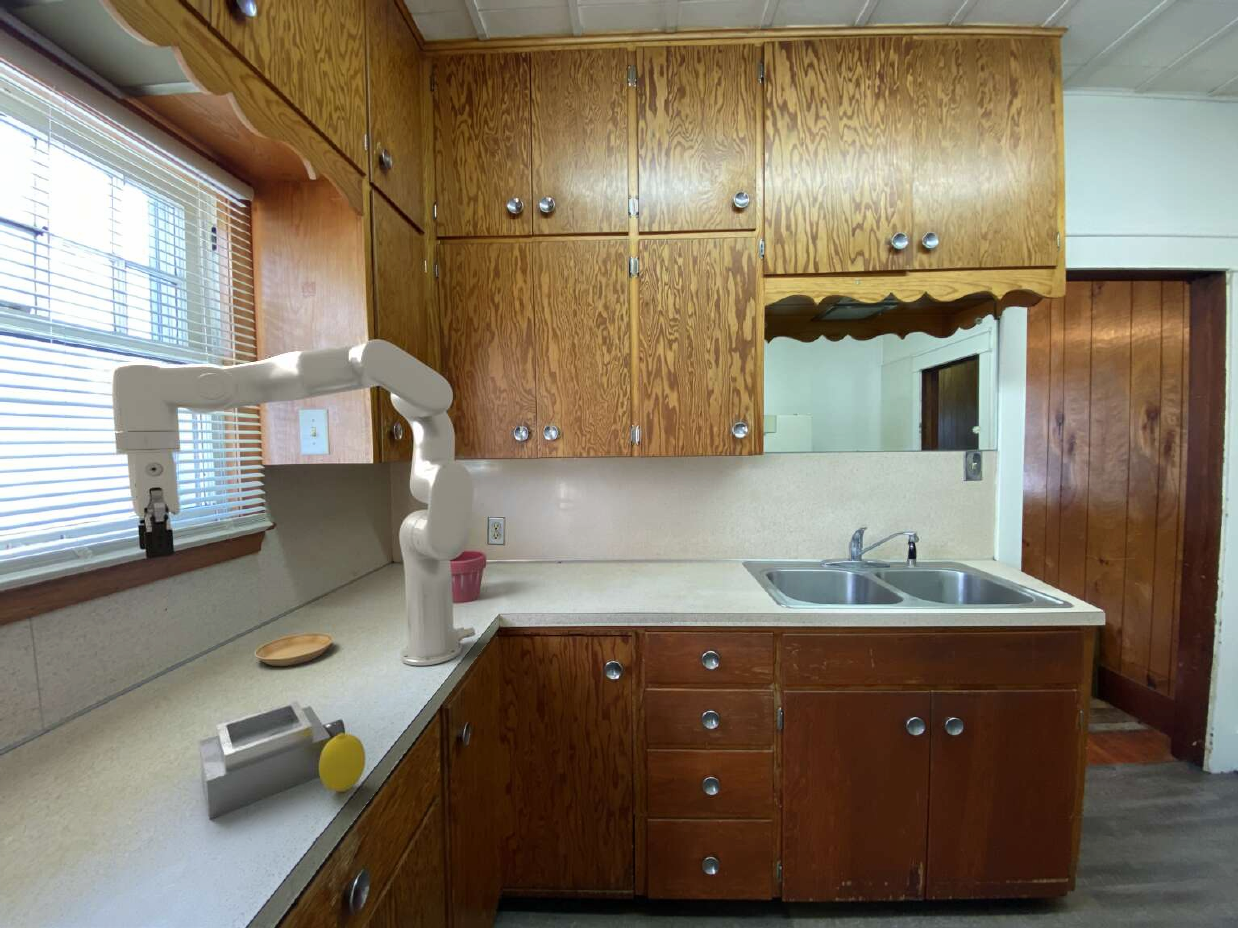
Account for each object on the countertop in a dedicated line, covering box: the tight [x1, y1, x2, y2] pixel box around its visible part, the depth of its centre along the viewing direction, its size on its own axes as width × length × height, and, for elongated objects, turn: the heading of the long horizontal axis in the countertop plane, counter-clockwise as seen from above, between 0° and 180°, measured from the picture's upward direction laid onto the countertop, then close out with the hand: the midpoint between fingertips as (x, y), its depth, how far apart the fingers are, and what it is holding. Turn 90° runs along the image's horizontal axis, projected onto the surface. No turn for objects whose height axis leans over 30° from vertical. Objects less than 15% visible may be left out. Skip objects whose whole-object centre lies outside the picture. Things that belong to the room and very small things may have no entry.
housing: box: [198, 700, 346, 820], centre depth 77 cm, size 17×12×7 cm
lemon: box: [319, 733, 366, 793], centre depth 72 cm, size 6×6×8 cm
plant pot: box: [450, 549, 487, 604], centre depth 156 cm, size 14×14×13 cm
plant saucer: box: [254, 632, 334, 667], centre depth 118 cm, size 15×15×3 cm
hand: (156, 552), depth 84 cm, fingers open, 9 cm apart
